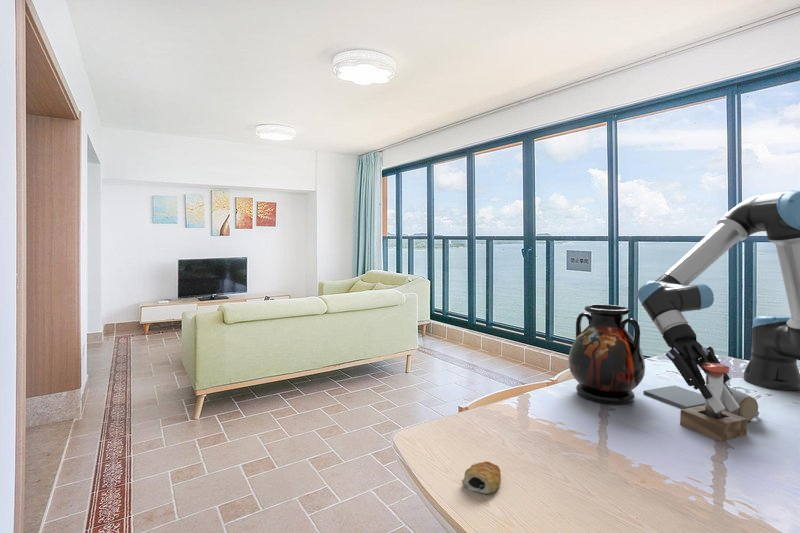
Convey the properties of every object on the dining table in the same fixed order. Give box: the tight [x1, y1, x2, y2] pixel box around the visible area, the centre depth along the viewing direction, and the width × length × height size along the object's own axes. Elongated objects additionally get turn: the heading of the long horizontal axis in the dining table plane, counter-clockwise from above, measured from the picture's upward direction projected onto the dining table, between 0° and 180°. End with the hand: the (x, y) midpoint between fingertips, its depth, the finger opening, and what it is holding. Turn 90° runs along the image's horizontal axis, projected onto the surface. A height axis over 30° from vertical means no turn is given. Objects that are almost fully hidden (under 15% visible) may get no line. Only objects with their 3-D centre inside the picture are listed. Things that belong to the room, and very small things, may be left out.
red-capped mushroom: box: [701, 363, 730, 419], centre depth 109 cm, size 6×6×16 cm
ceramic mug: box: [722, 385, 760, 422], centre depth 117 cm, size 11×8×8 cm
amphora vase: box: [567, 304, 646, 405], centre depth 132 cm, size 22×22×28 cm
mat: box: [643, 385, 705, 409], centre depth 131 cm, size 14×14×1 cm
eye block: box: [679, 405, 748, 442], centre depth 109 cm, size 10×10×4 cm
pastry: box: [461, 461, 501, 495], centre depth 86 cm, size 9×7×4 cm
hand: (727, 409), depth 105 cm, fingers closed on red-capped mushroom, 3 cm apart
